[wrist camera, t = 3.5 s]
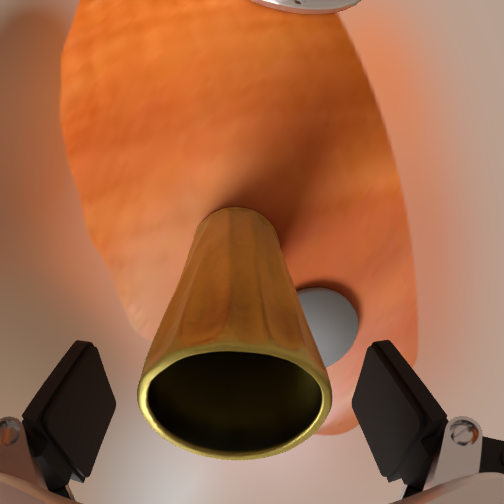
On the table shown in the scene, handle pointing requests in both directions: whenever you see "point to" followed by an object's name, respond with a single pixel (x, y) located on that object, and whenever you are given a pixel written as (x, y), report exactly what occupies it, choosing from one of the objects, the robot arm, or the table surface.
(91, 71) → the table surface
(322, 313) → the coaster
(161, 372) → the vase
